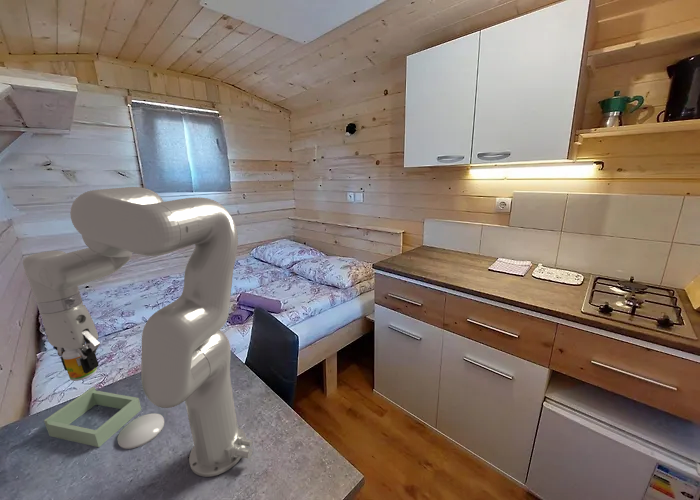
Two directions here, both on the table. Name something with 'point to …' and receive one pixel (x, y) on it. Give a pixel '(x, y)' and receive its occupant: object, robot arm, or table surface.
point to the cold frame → (80, 405)
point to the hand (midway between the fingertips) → (82, 367)
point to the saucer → (140, 431)
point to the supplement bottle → (75, 364)
